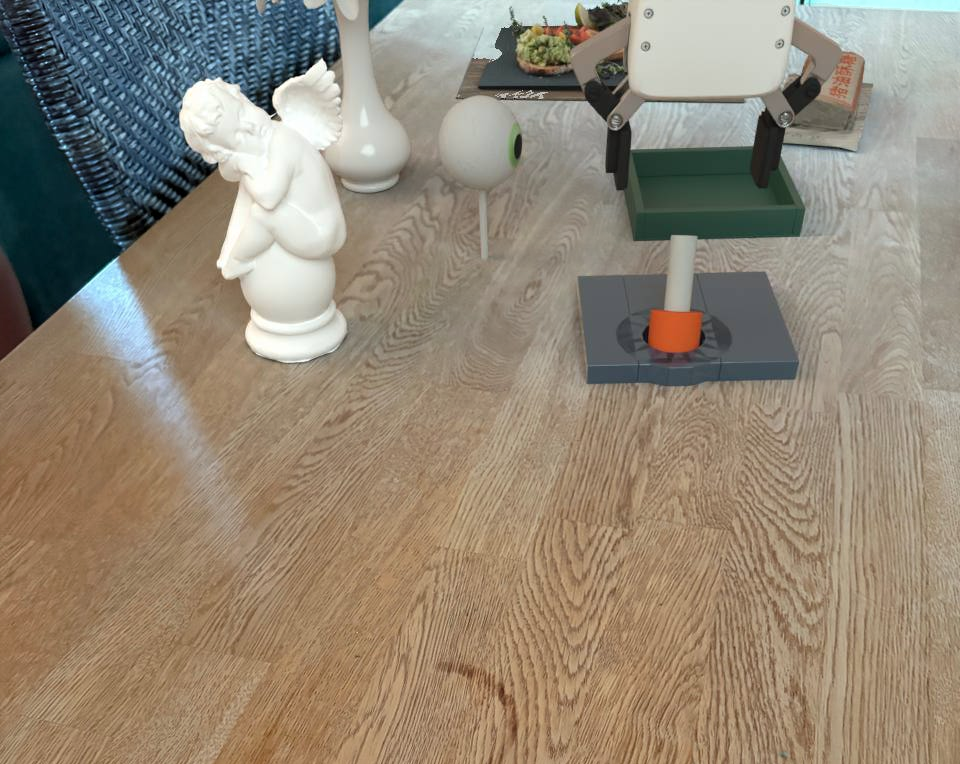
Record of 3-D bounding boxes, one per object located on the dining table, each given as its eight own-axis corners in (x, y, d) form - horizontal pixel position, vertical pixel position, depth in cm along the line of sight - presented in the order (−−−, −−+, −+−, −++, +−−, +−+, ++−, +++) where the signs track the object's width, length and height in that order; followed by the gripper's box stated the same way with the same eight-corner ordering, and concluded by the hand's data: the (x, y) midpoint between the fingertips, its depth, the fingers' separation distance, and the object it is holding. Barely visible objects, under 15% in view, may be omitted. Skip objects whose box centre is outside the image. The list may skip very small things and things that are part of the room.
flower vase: (287, 159, 113) (242, -117, 95) (453, 156, 112) (439, -123, 94) (267, 211, 104) (212, -81, 86) (446, 208, 103) (430, -88, 85)
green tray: (770, 174, 106) (776, 144, 104) (799, 239, 97) (805, 208, 94) (621, 178, 107) (623, 149, 105) (634, 243, 97) (636, 212, 95)
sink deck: (759, 303, 89) (765, 271, 87) (793, 398, 79) (801, 364, 77) (575, 307, 89) (577, 275, 87) (586, 403, 79) (588, 369, 77)
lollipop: (508, 295, 91) (505, 118, 80) (435, 284, 93) (421, 110, 82) (533, 258, 95) (533, 86, 84) (462, 249, 97) (453, 79, 86)
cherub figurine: (217, 355, 86) (147, 70, 70) (275, 284, 94) (224, 14, 78) (352, 373, 83) (312, 81, 67) (400, 298, 91) (374, 22, 75)
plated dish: (455, 100, 123) (452, 32, 118) (481, 29, 143) (480, -32, 137) (748, 106, 120) (759, 36, 115) (734, 32, 139) (743, -30, 134)
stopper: (691, 356, 83) (704, 237, 79) (702, 361, 79) (716, 236, 76) (642, 354, 83) (653, 235, 79) (651, 359, 79) (662, 234, 76)
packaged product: (793, 42, 120) (881, 49, 117) (785, 86, 123) (871, 94, 121) (771, 97, 108) (868, 106, 106) (763, 144, 112) (857, 154, 109)
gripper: (862, -136, 61) (801, 157, 74) (573, -130, 61) (562, 161, 74) (896, -107, 56) (825, 203, 68) (581, -101, 56) (567, 207, 69)
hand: (688, 181), depth 71 cm, fingers open, 9 cm apart
